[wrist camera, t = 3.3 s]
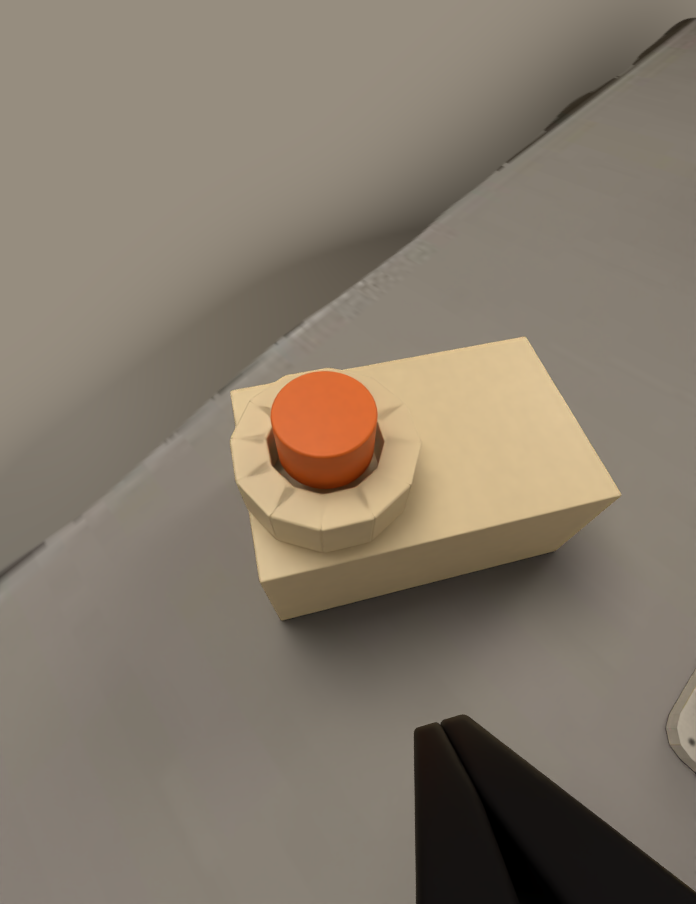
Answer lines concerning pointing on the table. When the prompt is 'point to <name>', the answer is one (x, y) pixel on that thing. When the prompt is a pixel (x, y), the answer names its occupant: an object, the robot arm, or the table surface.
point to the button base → (422, 480)
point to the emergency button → (684, 724)
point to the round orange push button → (324, 428)
